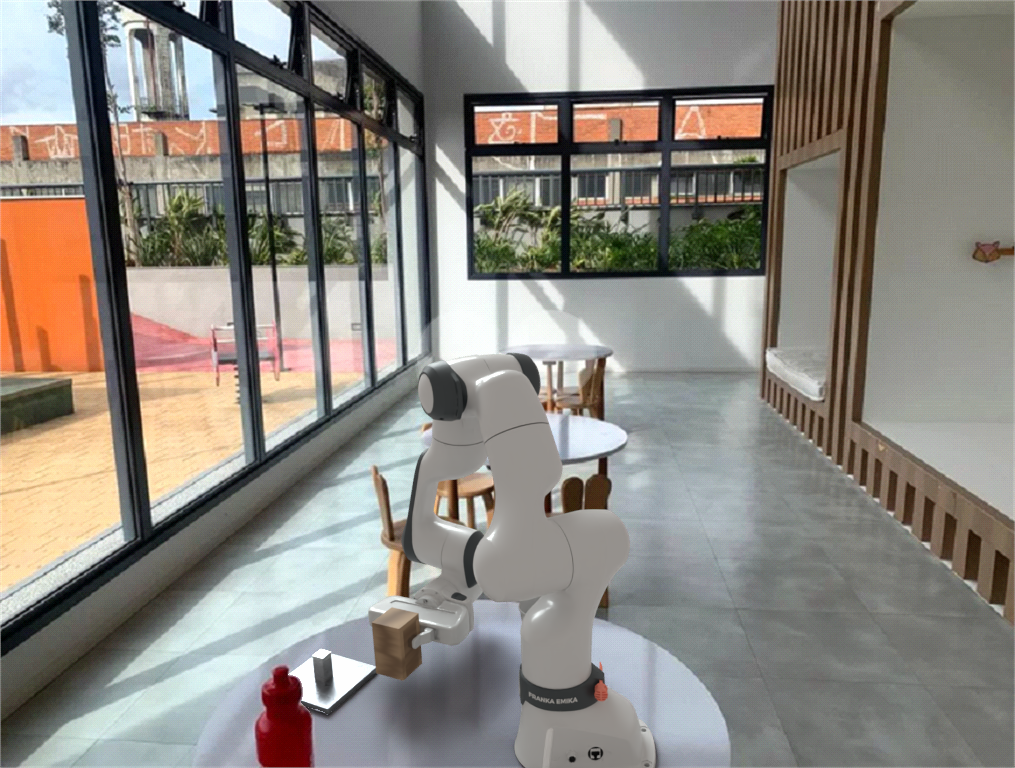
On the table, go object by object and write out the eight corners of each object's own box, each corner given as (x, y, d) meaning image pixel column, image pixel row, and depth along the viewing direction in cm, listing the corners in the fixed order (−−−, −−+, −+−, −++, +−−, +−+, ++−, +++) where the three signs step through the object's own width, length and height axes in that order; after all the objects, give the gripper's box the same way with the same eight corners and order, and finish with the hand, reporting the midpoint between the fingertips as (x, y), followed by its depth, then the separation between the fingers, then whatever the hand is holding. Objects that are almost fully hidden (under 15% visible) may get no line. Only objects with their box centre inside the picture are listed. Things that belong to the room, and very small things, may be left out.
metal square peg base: (377, 672, 138) (374, 643, 136) (328, 715, 125) (325, 683, 124) (321, 655, 144) (318, 627, 143) (269, 694, 132) (266, 664, 131)
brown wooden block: (422, 663, 132) (418, 613, 130) (403, 681, 126) (399, 629, 125) (395, 656, 134) (391, 607, 133) (376, 673, 129) (371, 622, 127)
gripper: (391, 582, 145) (347, 613, 133) (479, 600, 135) (440, 635, 123) (394, 611, 146) (350, 644, 134) (481, 630, 137) (442, 668, 124)
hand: (394, 640), depth 129 cm, fingers closed on brown wooden block, 6 cm apart
